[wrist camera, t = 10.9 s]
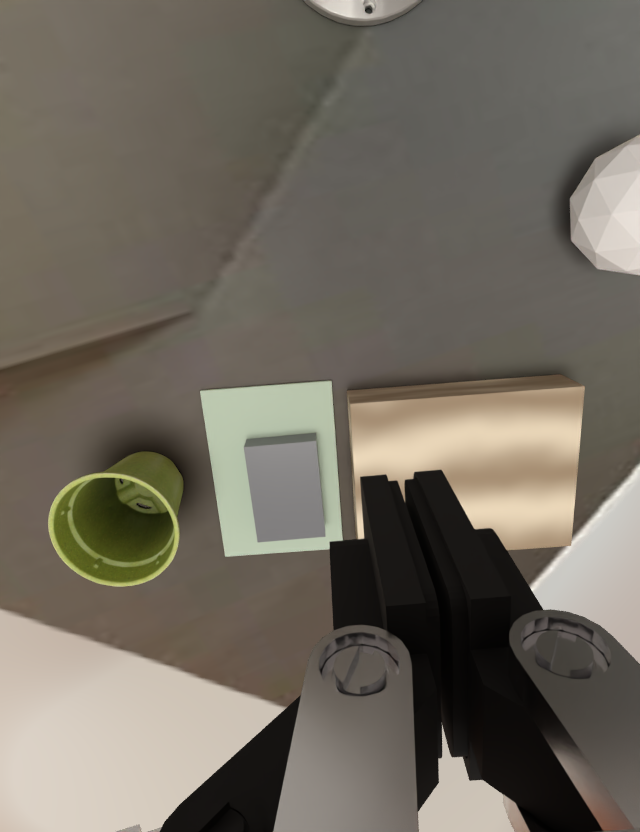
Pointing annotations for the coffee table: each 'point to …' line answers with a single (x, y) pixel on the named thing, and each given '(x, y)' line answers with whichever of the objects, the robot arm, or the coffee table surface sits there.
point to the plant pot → (119, 521)
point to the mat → (256, 418)
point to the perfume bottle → (610, 210)
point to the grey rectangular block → (285, 487)
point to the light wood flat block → (479, 449)
